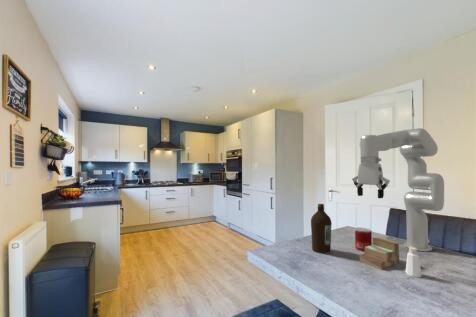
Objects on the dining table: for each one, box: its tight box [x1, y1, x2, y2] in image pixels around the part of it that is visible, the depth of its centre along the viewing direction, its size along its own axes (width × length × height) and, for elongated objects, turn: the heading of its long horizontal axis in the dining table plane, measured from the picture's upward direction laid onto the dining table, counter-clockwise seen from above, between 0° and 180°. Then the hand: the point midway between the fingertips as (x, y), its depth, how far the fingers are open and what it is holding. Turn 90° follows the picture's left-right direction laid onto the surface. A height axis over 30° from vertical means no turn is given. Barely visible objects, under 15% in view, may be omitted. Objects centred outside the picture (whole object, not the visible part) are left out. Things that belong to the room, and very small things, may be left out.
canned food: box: [354, 227, 373, 253], centre depth 125 cm, size 8×8×11 cm
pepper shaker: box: [405, 247, 422, 278], centre depth 96 cm, size 5×5×11 cm
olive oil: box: [310, 203, 333, 254], centre depth 124 cm, size 11×11×25 cm
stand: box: [359, 236, 400, 271], centre depth 108 cm, size 15×11×10 cm
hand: (370, 196), depth 108 cm, fingers open, 9 cm apart
